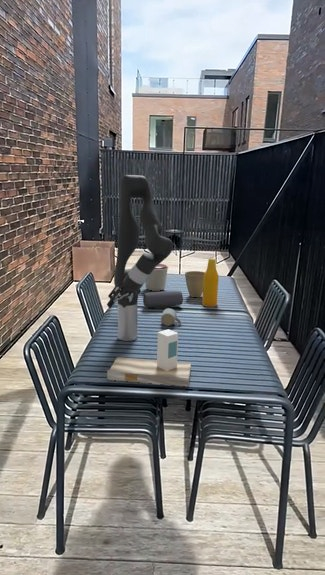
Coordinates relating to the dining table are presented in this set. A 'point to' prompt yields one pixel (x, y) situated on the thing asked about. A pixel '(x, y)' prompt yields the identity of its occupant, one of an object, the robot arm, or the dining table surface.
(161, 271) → the canister
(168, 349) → the carton
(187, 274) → the plant pot
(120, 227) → the robot arm
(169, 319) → the ceramic mug
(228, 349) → the dining table surface
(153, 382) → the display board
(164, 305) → the bluetooth speaker
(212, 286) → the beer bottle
